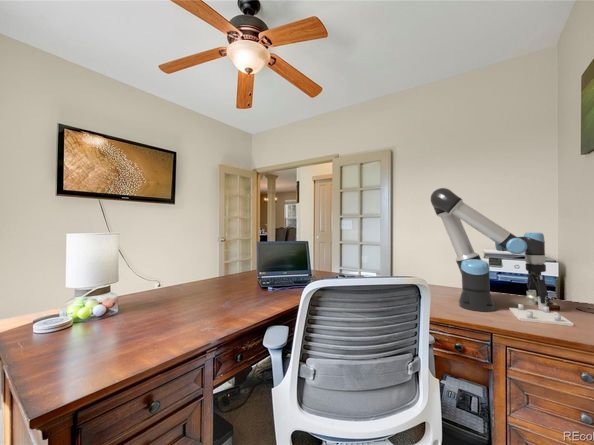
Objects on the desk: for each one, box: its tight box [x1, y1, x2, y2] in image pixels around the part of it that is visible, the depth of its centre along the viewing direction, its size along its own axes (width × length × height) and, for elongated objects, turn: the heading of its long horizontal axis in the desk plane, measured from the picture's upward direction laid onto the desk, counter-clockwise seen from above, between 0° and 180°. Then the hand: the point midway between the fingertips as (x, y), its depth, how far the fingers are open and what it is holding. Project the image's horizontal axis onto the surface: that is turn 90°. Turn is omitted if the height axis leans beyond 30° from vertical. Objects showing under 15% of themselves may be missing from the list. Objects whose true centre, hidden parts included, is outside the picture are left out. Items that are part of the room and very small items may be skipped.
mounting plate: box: [509, 303, 574, 327], centre depth 116 cm, size 17×16×4 cm
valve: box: [525, 290, 554, 310], centre depth 131 cm, size 7×7×12 cm
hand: (537, 306), depth 131 cm, fingers open, 12 cm apart
